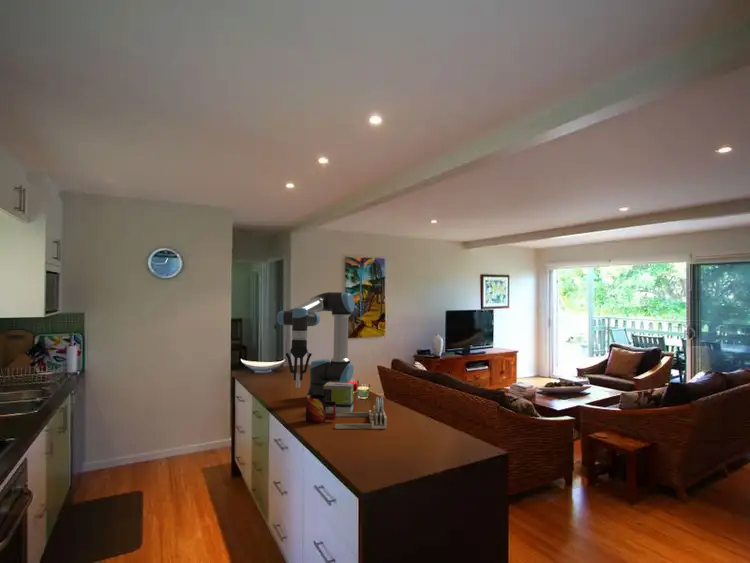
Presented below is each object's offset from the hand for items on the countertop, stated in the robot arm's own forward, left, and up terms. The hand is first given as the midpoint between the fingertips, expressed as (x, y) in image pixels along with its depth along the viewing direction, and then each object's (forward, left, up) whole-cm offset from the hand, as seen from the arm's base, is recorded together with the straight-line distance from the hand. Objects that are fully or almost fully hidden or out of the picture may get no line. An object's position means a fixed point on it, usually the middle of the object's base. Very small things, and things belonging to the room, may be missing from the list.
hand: (297, 387), depth 207 cm
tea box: (-18, +20, -17) cm, 32 cm away
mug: (0, +11, -17) cm, 20 cm away
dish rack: (+2, +31, -16) cm, 35 cm away
